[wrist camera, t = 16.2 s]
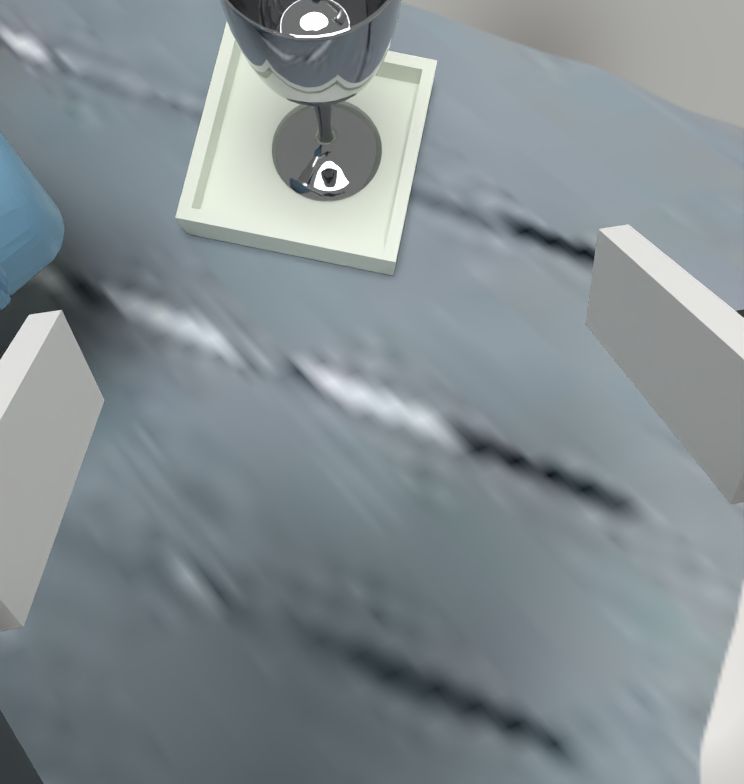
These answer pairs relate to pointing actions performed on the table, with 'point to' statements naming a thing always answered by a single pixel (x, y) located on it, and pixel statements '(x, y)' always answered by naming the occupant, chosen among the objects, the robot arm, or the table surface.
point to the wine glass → (318, 84)
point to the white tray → (272, 196)
